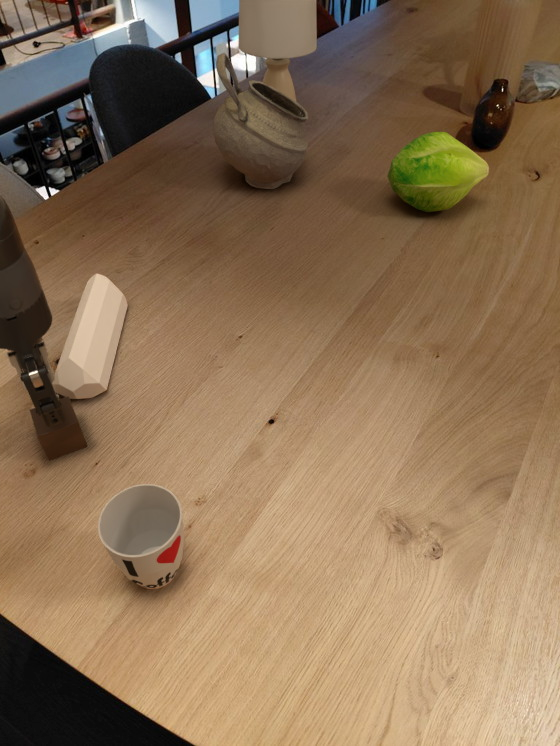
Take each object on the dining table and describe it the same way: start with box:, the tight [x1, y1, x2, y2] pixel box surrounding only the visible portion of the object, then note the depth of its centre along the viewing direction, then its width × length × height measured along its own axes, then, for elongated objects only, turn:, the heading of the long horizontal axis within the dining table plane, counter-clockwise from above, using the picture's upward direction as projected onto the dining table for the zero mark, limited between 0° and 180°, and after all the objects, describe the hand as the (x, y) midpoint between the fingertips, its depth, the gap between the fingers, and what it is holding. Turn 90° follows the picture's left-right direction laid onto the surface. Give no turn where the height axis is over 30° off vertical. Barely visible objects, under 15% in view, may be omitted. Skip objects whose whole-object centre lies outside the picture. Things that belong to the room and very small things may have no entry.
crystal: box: [52, 272, 128, 400], centre depth 86 cm, size 7×7×24 cm
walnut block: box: [29, 396, 88, 462], centre depth 73 cm, size 5×5×5 cm
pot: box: [212, 52, 309, 190], centre depth 120 cm, size 21×21×25 cm
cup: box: [97, 483, 185, 590], centre depth 59 cm, size 8×8×10 cm
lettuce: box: [387, 131, 490, 213], centre depth 116 cm, size 15×20×14 cm
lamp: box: [238, 0, 318, 102], centre depth 136 cm, size 19×19×37 cm
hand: (48, 399), depth 70 cm, fingers open, 8 cm apart
